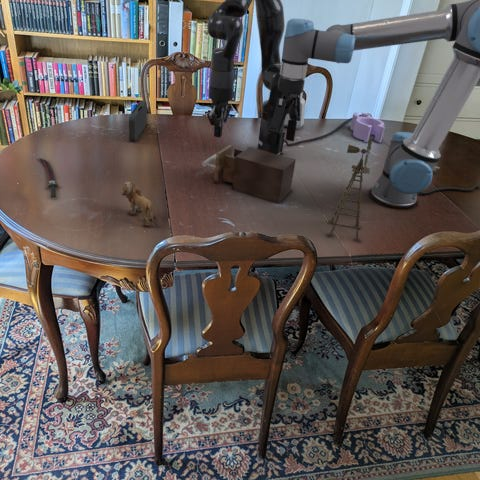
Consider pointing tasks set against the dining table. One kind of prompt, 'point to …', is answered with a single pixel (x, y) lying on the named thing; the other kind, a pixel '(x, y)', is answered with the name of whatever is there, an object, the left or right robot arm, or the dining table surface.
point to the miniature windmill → (356, 171)
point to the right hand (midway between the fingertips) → (281, 146)
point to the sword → (52, 181)
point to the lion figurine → (137, 201)
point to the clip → (367, 127)
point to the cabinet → (263, 174)
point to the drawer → (223, 163)
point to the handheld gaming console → (137, 120)
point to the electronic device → (302, 112)
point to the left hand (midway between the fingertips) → (217, 136)
